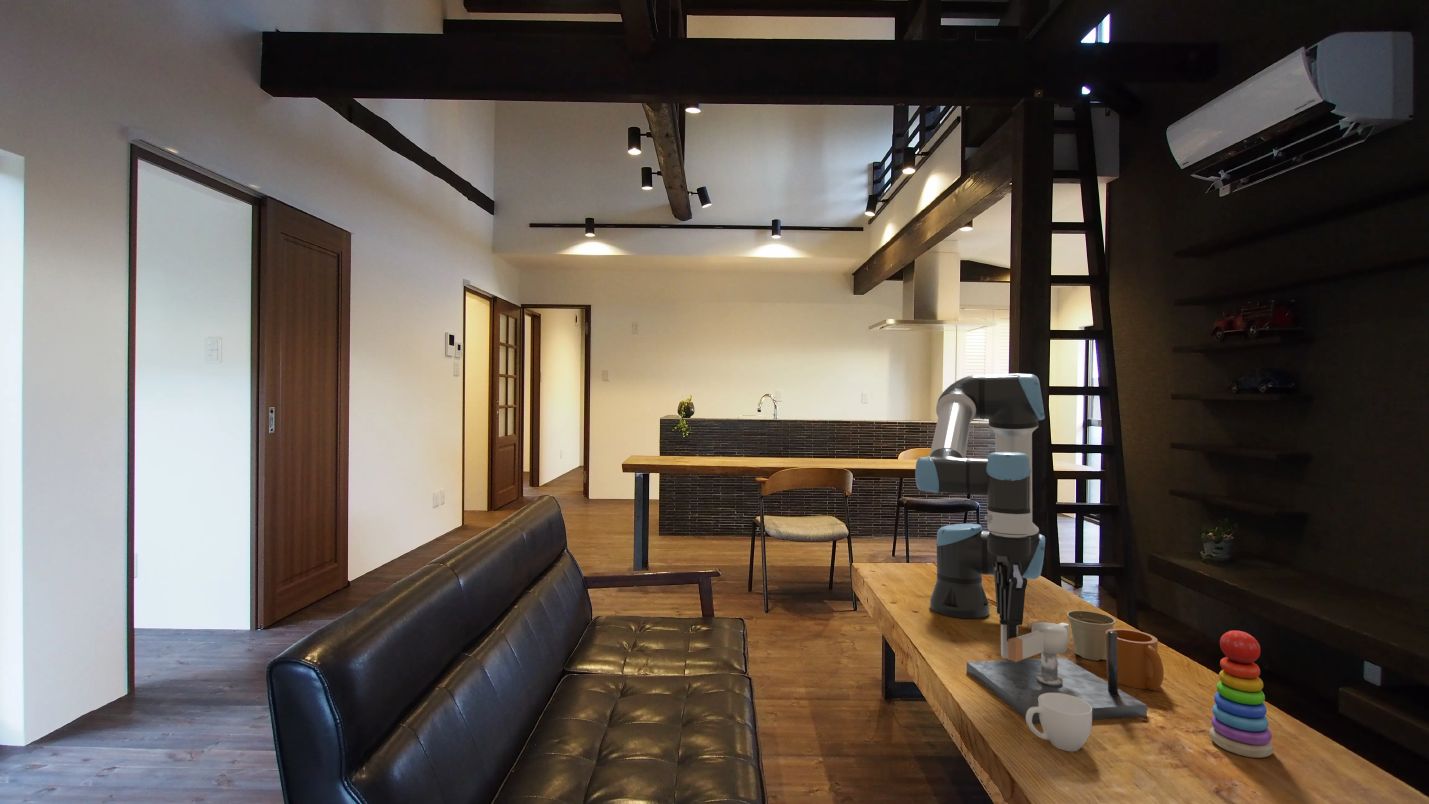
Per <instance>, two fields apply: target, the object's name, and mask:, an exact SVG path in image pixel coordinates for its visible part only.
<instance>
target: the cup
mask: <svg viewBox="0 0 1429 804" xmlns="http://www.w3.org/2000/svg"><path fill="white" fill-rule="evenodd" d="M1034 713H1039V719H1040V723H1039V724H1041V728H1042V731H1043V732H1041V731H1039V730H1038V729H1037V728H1036V727H1035V725H1034V723H1032V717H1033V714H1034ZM1025 722H1026V725H1027V727H1028V728H1029V730H1030V731H1031V732H1032V733H1033V734H1034V735H1036V736H1037V737H1039V738H1040V739H1042V740H1046V741H1047V740H1048V741H1049V742H1050V743H1051V745H1052V746H1054V747H1055V748H1056V749H1059V750H1062V751H1064V752H1065V751H1066V752H1077V751H1079V750H1080V749H1081V748H1082V747H1084V745H1085V743H1086V742H1087V740H1088V738H1089V737H1090V734H1091V731H1092V726H1093V720H1092V707H1091V706H1090V705H1089V704H1088V703H1087V702H1085V701H1084V700H1082V699H1080V698H1077V697H1074V696H1071V695H1067V694H1062V693H1044V694H1041V695H1040V696H1039V697H1038V707H1031V708H1029V709H1028V710H1027V713H1026V718H1025Z"/></svg>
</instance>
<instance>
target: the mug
mask: <svg viewBox="0 0 1429 804" xmlns="http://www.w3.org/2000/svg"><path fill="white" fill-rule="evenodd" d="M1107 631H1114V632H1117V654H1118V685H1121V686H1126V687H1129V688H1134V689H1141V690H1150V691H1157V690H1158V689H1159V688H1161V686H1162V684H1163V682H1164V677H1165V676H1164V675H1165V674H1164V671H1165V670H1164V664H1163V661H1162V658H1161V656H1160V654H1159V652H1158V651H1159V650H1158V648H1159V647H1158V644H1159V643H1158V638H1157V637H1155V636H1154V635H1152V634H1150V633H1147V632H1144V631H1143V632H1142V631H1139V630H1136V629H1129V628H1113V629H1109V630H1107ZM1107 631H1106V661H1105V663H1106V677H1107V678H1108V662H1107Z"/></svg>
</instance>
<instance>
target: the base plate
mask: <svg viewBox="0 0 1429 804" xmlns="http://www.w3.org/2000/svg"><path fill="white" fill-rule="evenodd" d="M1040 654H1041V656H1040V657H1039V658H1025V659H1023V660H1021V661H1018V662H1015V661H1012V660H1009V659H1004V660H1003V659H1002V660H1001V659H1000V660H978V661H966V672H967V673H968V675H970V676H972V677H973V678H974V679H976V680H977V681H978V682H979V683H980V684H981V685H983V686H984V687H985V688H986V689H988V690H989V691H991V692H992V693H993V694H995V696H997V697H998V698H999V699H1000V700H1002V701H1003V702H1004V703H1005V704H1007V705H1008V706H1009V707H1010V708H1012V709H1013V710H1014V711H1016V713H1018V714H1019V715H1020V716H1021V717H1023V718H1024V719H1026V713H1027V710H1028V709H1029V708H1031V707H1038V697H1039V696H1040V695H1041V694H1044V693H1062V694H1067V695H1071V696H1074V697H1077V698H1080V699H1082V700H1084V701H1085V702H1087V703H1088V704H1089V705H1090V706H1091V707H1092V721H1094V720H1105V719H1107V720H1108V719H1125V718H1126V719H1127V718H1140V717H1141V718H1142V717H1143V718H1145V717H1147V716H1148V711H1147V708H1148V705H1147V704H1146V703H1144V702H1142V701H1141V700H1138V699H1137V698H1135V697H1134V696H1132V695H1130V694H1128V693H1127V692H1125V691H1123V690H1122V689H1120V688H1119V683H1118V654H1117V632H1114V631H1107V662H1108V677H1107V681H1106V680H1105V679H1102V678H1101V677H1099V676H1097V675H1096V674H1094V673H1092V672H1091V671H1089V670H1087V669H1085V668H1083V667H1082V666H1081V665H1078V664H1076V663H1075V662H1073V661H1071V660H1069V658H1067V657H1061V656H1060V657H1058V654H1051V653H1045V652H1042V653H1040ZM1032 723H1033V724H1038V723H1039V724H1041V723H1040V719H1039V713H1034V714H1033V717H1032Z"/></svg>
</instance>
